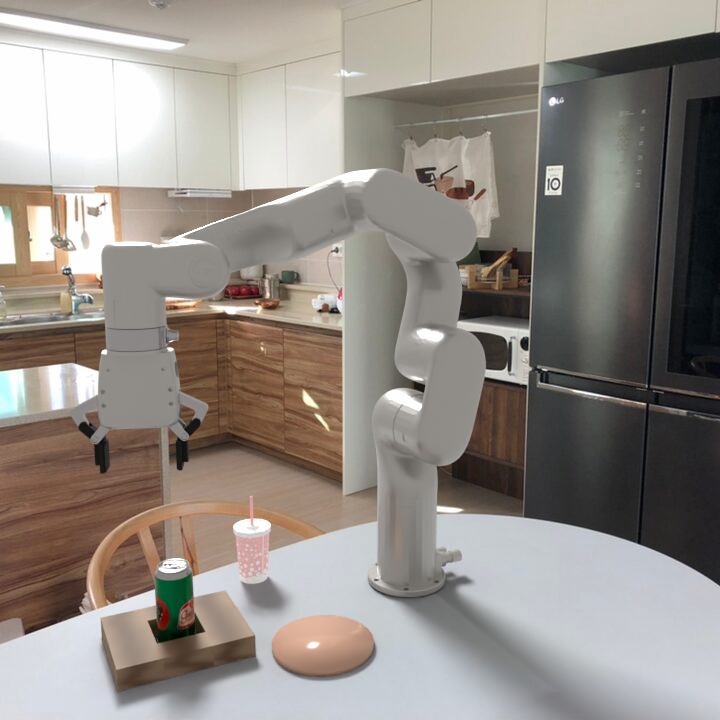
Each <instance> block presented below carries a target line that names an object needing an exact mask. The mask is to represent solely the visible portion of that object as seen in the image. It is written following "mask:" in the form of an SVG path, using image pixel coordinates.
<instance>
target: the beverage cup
mask: <svg viewBox="0 0 720 720" xmlns="http://www.w3.org/2000/svg"><path fill="white" fill-rule="evenodd" d="M253 498H254V496H253V495H250V496H249V511H250V513H249V514H250V518H246V519H241V520H239V521H237V522H235V523H234V524H233V525H232V526H233V530H232V531H233V534H234V535H235V543H236V555H237V564H238V572H239V573H238V576H239V580H240V581H241V582H242V583H245V584H248V585H255V584H260V583H263V582H264V581H266V580H267V579H268V578H269V577H268V575H269V554H270V553H269V550H270V549H269V548H270V547H269V546H270V533H271V531H272V529H271V528H272V524H271V522H269V521H268V519H267V520H266V519H263V518H254V499H253Z"/></svg>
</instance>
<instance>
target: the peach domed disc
mask: <svg viewBox="0 0 720 720" xmlns="http://www.w3.org/2000/svg"><path fill="white" fill-rule="evenodd" d="M374 640H375V639H374V636H373V633H372V631H370V629H369V628H368V627H367V626H366V625H365V624H363V623H361V622H359V621H358V620H356V619H355V620H354V619H352V618H348V617H344V616H342V615H341V616H340V615H332V614H331V615H330V614H329V615H327V614H322V615H321V614H318V615H310V616H305V617H301V618H297V619H295V620H292V621H290V622H289V623H287V624H285V625H284V626H282V627H280V629H278V630H277V631H276V633H275V634H274V636H273V637H272V641H271V652H272V657H273V658H274V660H275V661H276V662H277V664H279V666H281V667H282V668H284V669H286V670H288V671H289V672H291V673H295V674H298V675H301V676H308V677H332V676H333V677H334V676H339V675H342V674H347V673H349V672H353V671H354V670H356V669H358V668H359V667H362V666H363V665H364V664H365V663H367V662H368V661H369V660H370V658H371V657H372V656H373V653H374V650H375V649H374V648H375V645H374V644H375V641H374Z"/></svg>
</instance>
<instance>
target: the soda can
mask: <svg viewBox="0 0 720 720" xmlns="http://www.w3.org/2000/svg"><path fill="white" fill-rule="evenodd" d="M153 579H154V597H155V598H154V599H155V606H156V618H157V636H158V638H157V644H158V643H162V642H166V641H170V640H175V639H179V638H183V637H187V636H191V635H195V634H196V631H195V614H194V597H195V595H194V592H195V591H194V574H193V568H192V567H191V566H190V562H189V561H188V560H187V559H184V558H170V559H165V560H162V561H160V562H159V563H158V564H157V565H156V570H155V572H154V574H153Z"/></svg>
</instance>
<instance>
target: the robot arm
mask: <svg viewBox="0 0 720 720" xmlns="http://www.w3.org/2000/svg"><path fill="white" fill-rule="evenodd" d="M477 229H478V228H477V224H476V221H475V218H474V217H473V214H472V213H471V212H470V211H469V210H468V208H466V207H465V206H464V205H463V204H462V203H460V202H458V201H456V200H454V199H452V198H451V197H449V196H446V195H445V194H443V193H441V192H439V191H437V190H435V189H434V188H431V187H429V186H428V185H426V184H424V183H422V182H420V181H419V180H417V179H414V178H412V177H410V176H408V175H406V174H405V173H402V172H400V171H397V170H396V169H395V170H394V169H391V168H387V167H379V168H371V169H361V170H354V171H353V170H352V171H349V172H345V173H343V174H341V175H338V176H335V177H333V178H331V179H328V180H325V181H323V182H321V183H318V184H315V185H313V186H309V187H308V188H305V189H302V190H300V191H298V192H294V193H292V194H290V195H286V196H284V197H281V198H278V199H276V200H273V201H271V202H267V203H265V204H261V205H259V206H256V207H254V208H251V209H248V210H247V211H244V212H242V213H238V214H235V215H233V216H230V217H226V218H224V219H223V218H222V219H221V220H218V221H216V222H212V223H210V224H207V225H205V226H204V225H203V227H202V226H201V227H199V228H197V229H196V228H195V229H194V230H192V231H189V232H186V233H184V234H181V235H178V236H176V237H173V238H172V239H169V240H168V241H166V242H165V243H163V244H157V243H154V242H149V241H117V242H116V241H115V242H109V243H108V244H106V245H104V246H103V248H102V250H101V255H100V256H101V260H100V262H101V275H102V276H101V279H102V295H103V297H102V298H103V311H104V312H103V313H104V315H103V317H104V327H105V328H104V331H105V345H106V346H105V347H106V349H103V350H102V351H101V353H100V359H99V366H98V378H97V379H98V380H97V394H96V395H94V396H92V397H90V398H88V399H86V400H84V401H83V402H81V403H79V404H77V405H75V406H73V407H72V408H71V409H70V410H69V415H70V417H71V418H72V421H73V422H74V424H75V425H77V427H78V430H79V432H80V433H82V434H83V435H84V436H86V437H87V438H88V440H89V441H90V443H91V444H93V451H94V465H95V466H96V467H97V466H99V473H100V474H102V475H103V474H106V473H107V472H108V470H109V469H110V466H111V462H110V459H111V458H110V445H109V444H110V442H109V439H108V437H107V436H106V435H107V433H108V432H109V431H110V430H135V429H137V430H138V429H164V428H169V429H170V430H171V431H172V432H173V433H174V434H175V435H176V440H175V460H176V470H177V471H183V469H184V467H185V463H189V459H190V458H189V456H190V453H189V438H190V437H191V436H192V435H193V434H194V433H195V432H196V431H197V430H198V429H199V428H200V426H201V425H202V423H203V421H204V419H205V417H206V415H207V413H208V410H209V404H208V403H207V402H204V401H202V400H200V399H197V398H196V397H193V396H192V395H189V394H187V393H185V392H183V391H181V382H180V374H179V365H178V362H177V357H176V352H175V349H174V348H173V347H168V345H169V344H170V343H173V341H175V342H176V341H179V340H180V338H179V337H180V335H179V333H180V332H179V330H173V329H170V327H168V324H167V304H166V300H167V299H166V298H174V299H187V300H207V299H211V298H213V297H216V296H217V295H219V294H220V293H221V292H222V291H223V290H225V288H226V287H227V285H228V283H229V282H230V278H231V274H232V273H235V272H238V271H242V270H244V269H247V268H251V267H257V266H262V265H263V266H265V265H273V264H274V265H275V264H276V265H277V264H282V263H288V262H292V261H296V260H299V259H302V258H305V257H308V256H310V255H312V254H314V253H316V252H320V251H321V250H323V249H326V248H328V247H330V246H333V245H334V244H338V243H339V242H343V241H344V240H347V239H349V238H351V237H354V236H357V235H358V234H361V233H364V232H383V233H384V234H385V237H386V241H387V244H388V246H389V247H390V249H391V251H392V252H393V253H394V255H396V257H397V258H398V261H399V262H400V264H401V266H402V267H403V270H404V272H405V276H406V282H407V283H406V284H407V288H406V296H405V304H404V308H403V313H402V316H401V321H400V326H399V330H398V335H397V338H396V343H395V349H394V357H393V358H394V364H395V367H396V369H397V370H398V372H399V373H400V374H401V375H402V376H404V377H405V378H407V379H408V380H410V381H414V382H416V383H418V384H421V385H425V387H424V392H422V391H419V390H417V389H412V388H409V387H408V388H407V387H399V388H398V387H397V388H393V389H391V390H389V391H386V392H385V393H384V394H382V396H380V397H379V399H378V400H377V402H376V403H375V405H374V407H373V411H372V416H371V430H372V435H373V441H374V447H375V455H376V465H377V468H376V469H377V492H376V493H377V494H376V495H377V497H376V498H377V505H376V507H377V514H376V515H377V516H376V517H377V518H376V519H377V521H376V522H377V525H376V526H377V527H376V528H377V530H376V531H377V532H376V533H377V534H376V535H377V537H376V538H377V540H376V541H377V542H376V544H377V545H376V547H377V548H376V549H377V552H376V554H377V555H376V556H377V557H376V558H377V559H376V560H377V561H376V562H375V563H373V564H372V565H371V566H370V567H369V569H368V570H367V581H368V583H369V585H370V586H371V587H372V588H373V589H375V590H376V591H379V592H380V593H383V594H386V595H388V596H393V597H401V598H417V597H419V598H420V597H424V596H428V595H431V594H434V593H436V592H438V591H439V590H440V589H442V588H443V587H444V585H445V583H446V571H445V570H444V567H446V566H447V564H453V563H457V562H460V561H462V560H463V556H462V555H463V554H462V552H461V550H460V549H459V548H458V549H452V550H447V548H446V547H445V546H440V547H437V527H438V526H437V525H438V524H437V522H438V521H437V520H438V519H437V518H438V515H437V514H438V485H439V481H438V479H439V477H438V468H437V467H444V466H448V465H449V466H450V465H451V464H452V463H455V462H456V461H457V460H458V459H460V457H461V456H462V455H463V454H464V453H465V450H466V449H467V447H468V445H469V442H470V439H471V437H472V433H473V431H474V430H473V429H474V425H475V421H476V417H477V412H478V408H479V405H480V404H479V403H480V399H481V395H482V392H483V391H482V390H483V387H484V382H485V376H486V370H487V360H486V354H485V349H484V347H483V345H482V343H481V341H480V340H479V339H478V337H477V336H476V335H474V334H473V333H472V332H470V331H468V330H466V329H464V328H459V327H458V321H459V316H460V310H461V305H462V296H463V284H462V277H461V274H460V270H459V267H458V265H457V262H459V261H461V260H463V259H465V258H466V257H467V256H468V255H469V254H470V253H471V252H472V251H473V249H474V247H475V245H476V242H477V236H478V230H477ZM182 406H185V407H187V408H189V409H191V410H193V411H194V412H195V413H194V416H193V417H192V418H191V419H190V420H189V421H188V422H187V423H185V422H184V420H183V419H181V418H180V416H181V415H182ZM96 408H97V417H98V422H99V426H98V427H97V426H95V425H94V424H93V423H92V422H91V421H89V419H88V418H87V416H86V413H87V412H88V413H89V412H90V411H92V410H93V409H96Z"/></svg>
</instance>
